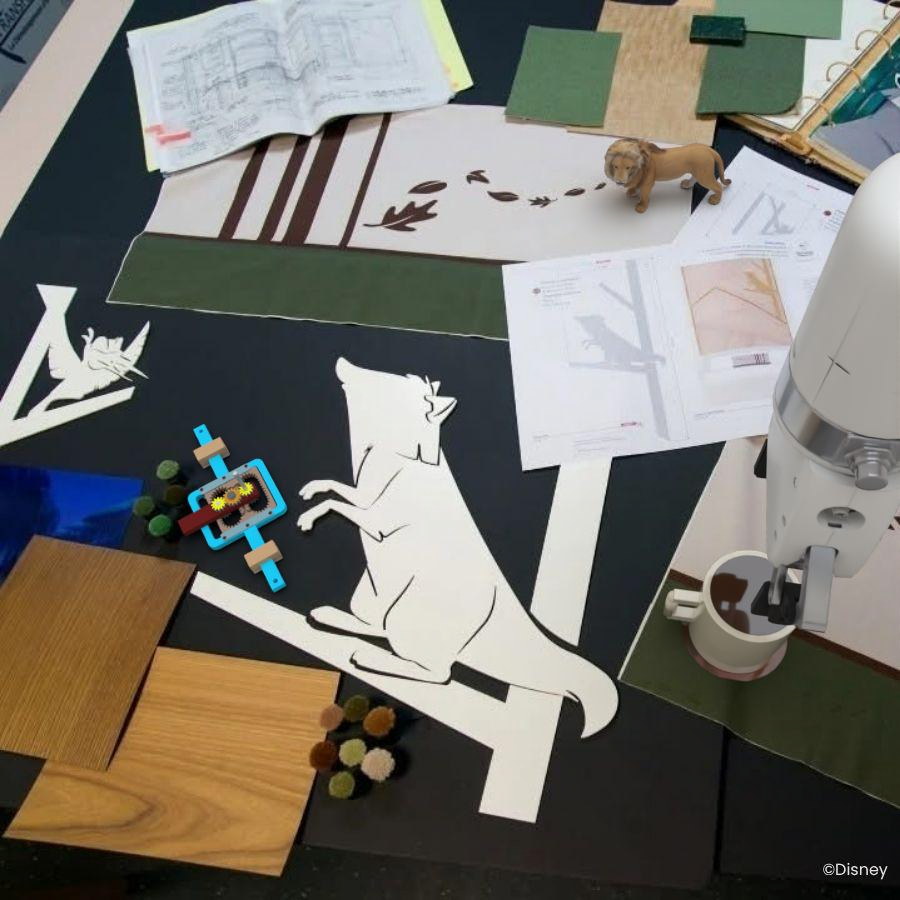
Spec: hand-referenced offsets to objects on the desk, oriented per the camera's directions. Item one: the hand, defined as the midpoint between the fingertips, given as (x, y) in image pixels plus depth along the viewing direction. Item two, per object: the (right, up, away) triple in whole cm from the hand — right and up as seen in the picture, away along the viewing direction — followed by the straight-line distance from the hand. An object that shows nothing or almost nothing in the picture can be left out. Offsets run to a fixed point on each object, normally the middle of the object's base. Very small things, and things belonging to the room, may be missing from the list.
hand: (777, 541), depth 55 cm
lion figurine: (+3, +34, +41) cm, 53 cm away
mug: (+1, -9, +15) cm, 18 cm away
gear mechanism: (-42, 0, +27) cm, 50 cm away
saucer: (+2, -9, +16) cm, 19 cm away
